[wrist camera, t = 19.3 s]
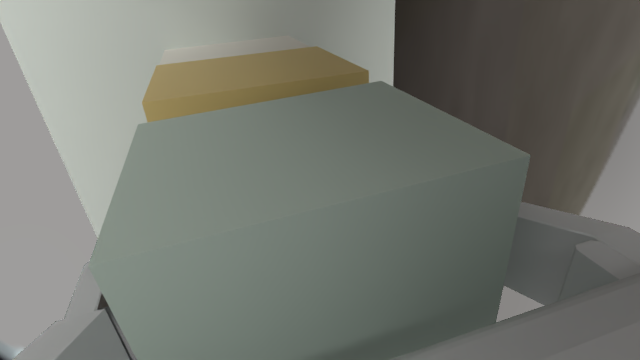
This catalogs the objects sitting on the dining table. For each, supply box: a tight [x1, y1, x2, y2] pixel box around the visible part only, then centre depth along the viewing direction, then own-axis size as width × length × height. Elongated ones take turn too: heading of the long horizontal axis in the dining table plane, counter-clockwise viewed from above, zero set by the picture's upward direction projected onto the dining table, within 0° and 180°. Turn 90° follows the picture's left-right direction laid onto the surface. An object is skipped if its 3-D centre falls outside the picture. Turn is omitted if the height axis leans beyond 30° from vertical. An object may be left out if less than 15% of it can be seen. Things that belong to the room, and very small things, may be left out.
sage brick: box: [88, 81, 531, 360], centre depth 8 cm, size 6×6×5 cm
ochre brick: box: [142, 46, 369, 122], centre depth 13 cm, size 6×6×5 cm
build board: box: [0, 0, 395, 239], centre depth 18 cm, size 18×18×6 cm
